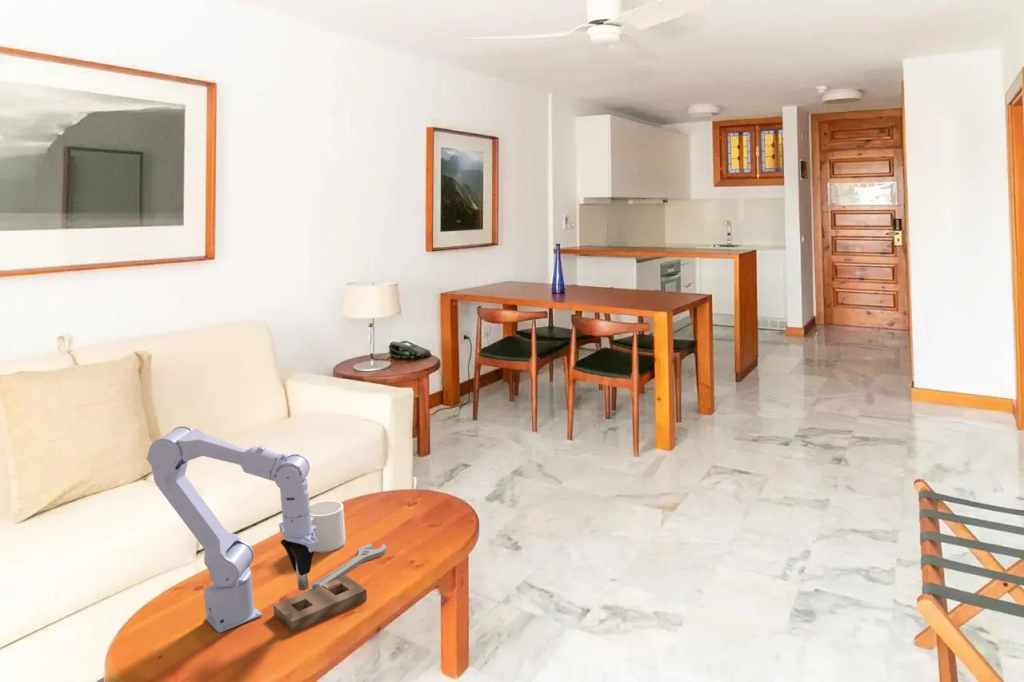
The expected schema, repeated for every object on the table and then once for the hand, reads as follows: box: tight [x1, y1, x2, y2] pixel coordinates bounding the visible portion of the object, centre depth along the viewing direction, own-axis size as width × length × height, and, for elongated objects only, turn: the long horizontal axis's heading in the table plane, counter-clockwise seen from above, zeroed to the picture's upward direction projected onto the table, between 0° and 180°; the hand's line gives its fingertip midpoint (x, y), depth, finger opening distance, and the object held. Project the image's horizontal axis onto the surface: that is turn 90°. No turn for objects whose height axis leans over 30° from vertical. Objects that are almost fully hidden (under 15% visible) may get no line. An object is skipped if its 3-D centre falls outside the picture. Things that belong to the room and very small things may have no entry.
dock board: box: [273, 575, 368, 633], centre depth 156 cm, size 18×9×3 cm, turn 133°
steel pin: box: [295, 560, 310, 592], centre depth 151 cm, size 2×2×8 cm
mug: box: [310, 499, 346, 553], centre depth 185 cm, size 13×10×10 cm
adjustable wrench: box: [308, 543, 387, 590], centre depth 174 cm, size 25×6×2 cm, turn 146°
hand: (301, 571), depth 151 cm, fingers closed on steel pin, 2 cm apart
